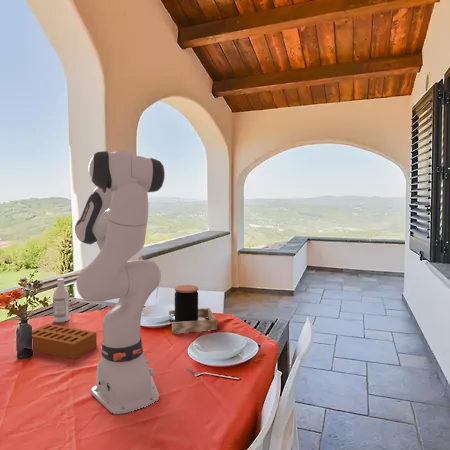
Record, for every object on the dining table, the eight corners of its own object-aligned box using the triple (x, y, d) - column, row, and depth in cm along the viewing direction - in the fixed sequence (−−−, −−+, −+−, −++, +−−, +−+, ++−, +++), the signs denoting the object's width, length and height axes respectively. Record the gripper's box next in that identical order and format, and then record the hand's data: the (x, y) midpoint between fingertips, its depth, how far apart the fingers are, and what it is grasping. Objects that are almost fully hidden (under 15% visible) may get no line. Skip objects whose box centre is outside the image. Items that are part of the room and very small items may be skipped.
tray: (172, 334, 148) (172, 323, 147) (169, 320, 164) (169, 310, 164) (216, 330, 152) (216, 319, 152) (209, 317, 169) (209, 307, 168)
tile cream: (197, 325, 160) (197, 321, 159) (191, 322, 163) (191, 318, 163) (206, 323, 163) (206, 318, 163) (200, 320, 167) (200, 316, 166)
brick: (96, 346, 135) (96, 332, 135) (74, 360, 124) (73, 344, 124) (48, 337, 144) (48, 323, 143) (23, 349, 132) (22, 334, 132)
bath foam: (61, 317, 168) (60, 276, 166) (72, 318, 165) (72, 278, 164) (50, 321, 161) (49, 280, 160) (61, 323, 159) (60, 281, 157)
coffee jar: (200, 323, 162) (200, 285, 160) (194, 331, 151) (194, 291, 150) (178, 321, 163) (178, 284, 162) (171, 329, 153) (171, 290, 152)
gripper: (118, 240, 135) (133, 272, 136) (115, 240, 154) (128, 268, 155) (102, 247, 132) (118, 279, 134) (101, 246, 151) (114, 274, 153)
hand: (123, 273), depth 145 cm, fingers closed
